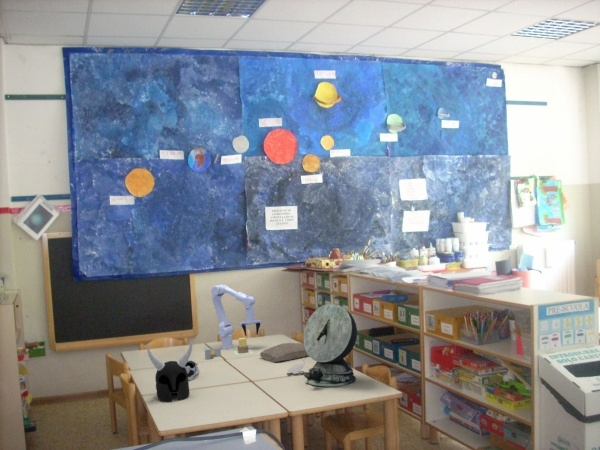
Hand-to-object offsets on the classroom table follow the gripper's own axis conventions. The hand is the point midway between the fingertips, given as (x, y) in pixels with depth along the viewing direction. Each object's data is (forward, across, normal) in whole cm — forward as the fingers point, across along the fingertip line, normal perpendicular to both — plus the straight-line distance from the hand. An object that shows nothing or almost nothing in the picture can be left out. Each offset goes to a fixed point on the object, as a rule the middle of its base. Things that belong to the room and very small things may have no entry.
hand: (251, 335), depth 412 cm
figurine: (+11, +14, -74) cm, 76 cm away
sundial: (+11, +25, -98) cm, 102 cm away
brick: (+6, -7, -5) cm, 10 cm away
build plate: (+10, -7, -5) cm, 13 cm away
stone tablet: (+11, +18, -30) cm, 36 cm away
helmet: (+11, -55, -86) cm, 103 cm away
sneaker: (+11, -44, -50) cm, 67 cm away
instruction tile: (+10, -27, -9) cm, 30 cm away
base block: (+10, -7, -5) cm, 13 cm away
